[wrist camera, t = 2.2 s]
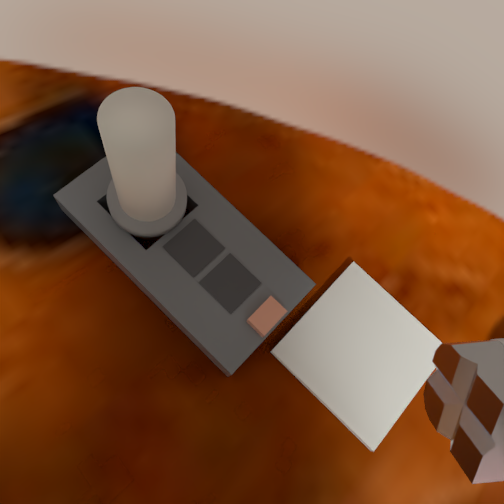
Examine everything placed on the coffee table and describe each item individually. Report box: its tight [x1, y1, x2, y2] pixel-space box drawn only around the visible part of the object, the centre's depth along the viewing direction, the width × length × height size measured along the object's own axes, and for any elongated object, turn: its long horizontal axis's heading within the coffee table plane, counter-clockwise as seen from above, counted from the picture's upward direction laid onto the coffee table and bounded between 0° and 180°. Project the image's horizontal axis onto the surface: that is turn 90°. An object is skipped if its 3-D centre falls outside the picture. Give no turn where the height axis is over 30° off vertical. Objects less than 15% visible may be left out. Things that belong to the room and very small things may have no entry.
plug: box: [97, 87, 187, 241], centre depth 30 cm, size 6×6×13 cm
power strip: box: [53, 152, 316, 377], centre depth 34 cm, size 18×9×3 cm, turn 47°
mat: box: [270, 261, 443, 451], centre depth 35 cm, size 10×10×1 cm
